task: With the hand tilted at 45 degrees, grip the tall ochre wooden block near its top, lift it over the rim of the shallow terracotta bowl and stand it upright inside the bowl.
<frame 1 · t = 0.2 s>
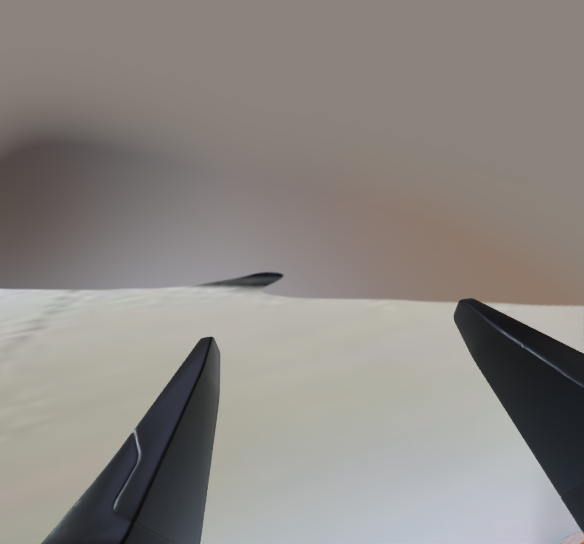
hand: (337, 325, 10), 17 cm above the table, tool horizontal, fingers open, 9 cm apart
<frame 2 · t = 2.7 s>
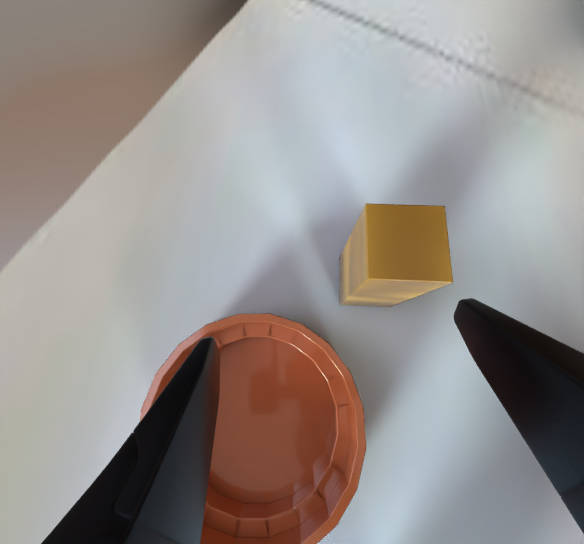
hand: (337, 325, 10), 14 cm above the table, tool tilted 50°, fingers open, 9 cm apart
bowl: (259, 412, 22), on the table
ochre block: (364, 281, 24), on the table
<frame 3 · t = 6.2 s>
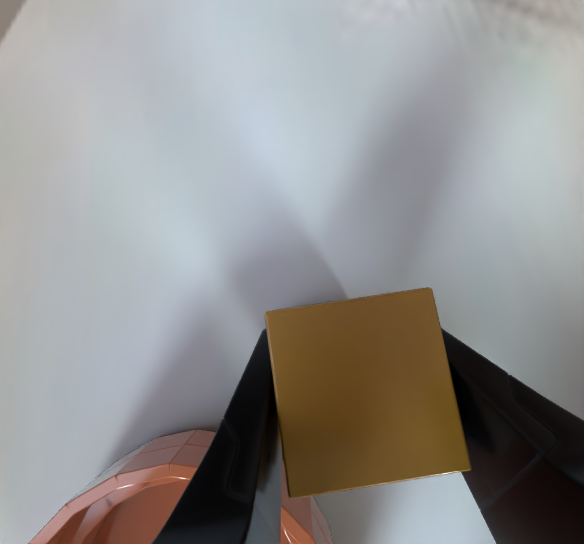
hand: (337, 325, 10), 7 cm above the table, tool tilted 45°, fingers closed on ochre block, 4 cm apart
ochre block: (321, 342, 17), on the table, touching gripper
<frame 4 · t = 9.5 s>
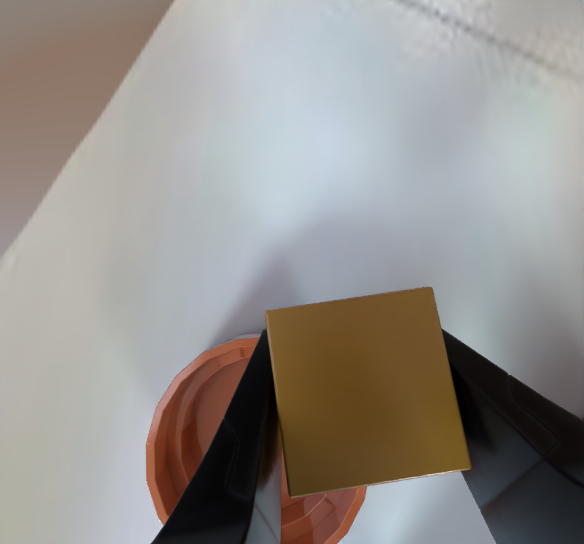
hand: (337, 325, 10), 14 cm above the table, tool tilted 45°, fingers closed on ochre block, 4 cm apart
bowl: (264, 426, 22), on the table
ochre block: (322, 341, 17), point 7 cm above the table, touching gripper
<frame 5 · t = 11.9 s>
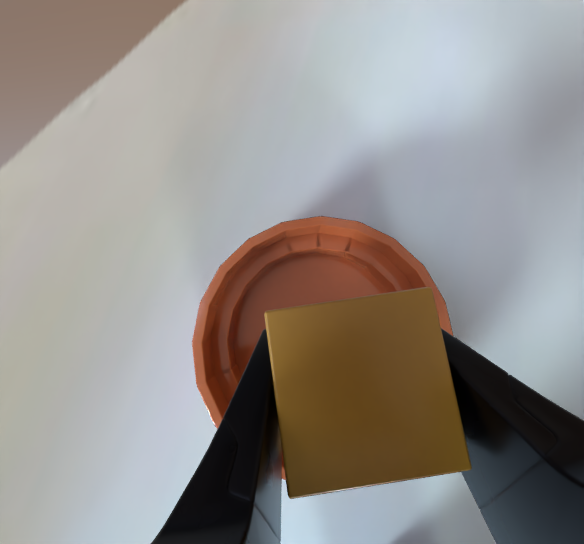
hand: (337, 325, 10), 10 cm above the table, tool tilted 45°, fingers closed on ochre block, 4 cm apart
bowl: (317, 335, 20), on the table
ochre block: (321, 342, 17), point 3 cm above the table, touching gripper
when the fingers open (8 cm above the table, at t = 13.1 s): ochre block stays where it is, resting on bowl.
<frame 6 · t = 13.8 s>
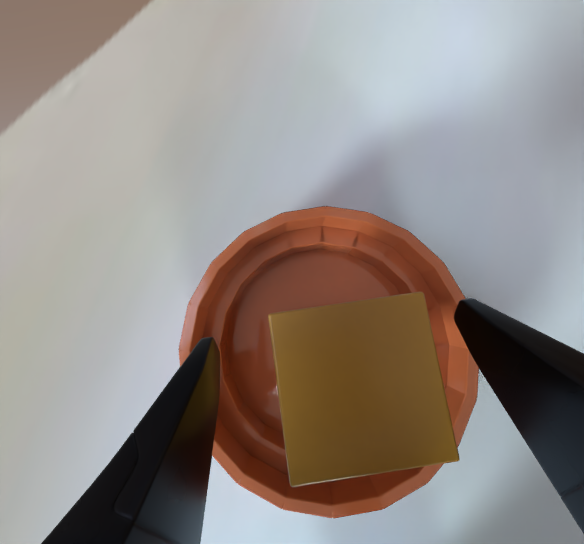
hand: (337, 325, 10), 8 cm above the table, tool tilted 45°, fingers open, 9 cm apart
bowl: (320, 341, 18), on the table
ochre block: (321, 342, 17), point 1 cm above the table, touching bowl
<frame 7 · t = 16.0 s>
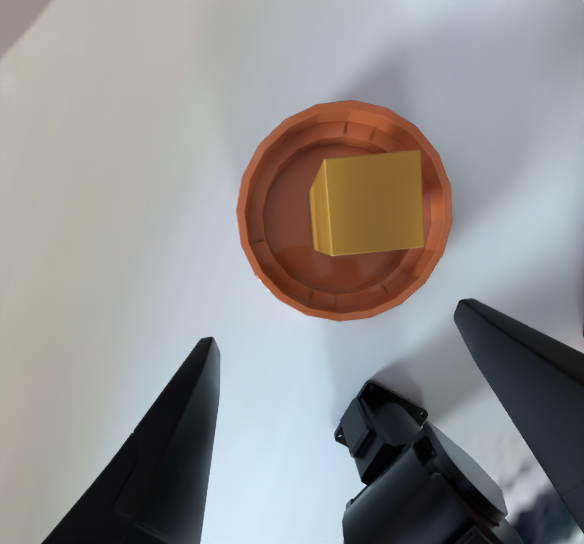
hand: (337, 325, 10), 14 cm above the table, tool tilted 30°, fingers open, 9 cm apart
bowl: (335, 220, 23), on the table
ochre block: (336, 220, 23), point 1 cm above the table, touching bowl
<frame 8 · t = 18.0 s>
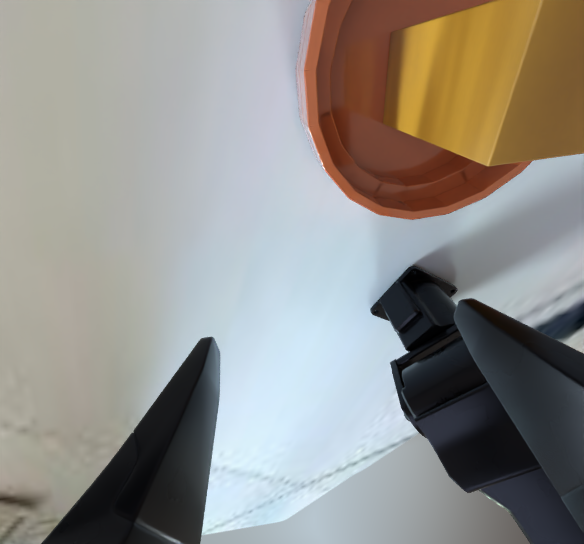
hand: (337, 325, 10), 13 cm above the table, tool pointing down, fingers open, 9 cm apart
bowl: (419, 76, 17), on the table
ochre block: (422, 77, 16), point 1 cm above the table, touching bowl
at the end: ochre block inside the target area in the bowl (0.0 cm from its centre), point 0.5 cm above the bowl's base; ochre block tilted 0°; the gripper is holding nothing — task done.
